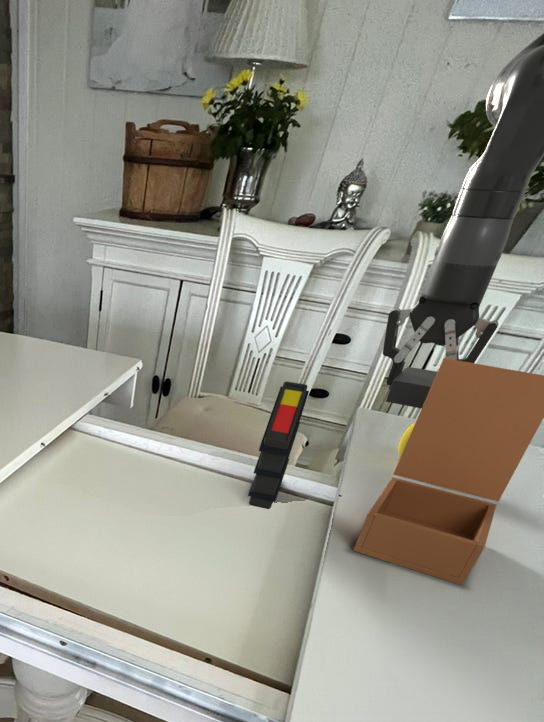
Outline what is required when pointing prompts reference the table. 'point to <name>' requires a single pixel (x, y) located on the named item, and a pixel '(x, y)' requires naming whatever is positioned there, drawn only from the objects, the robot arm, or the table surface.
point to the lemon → (405, 439)
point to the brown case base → (426, 530)
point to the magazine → (277, 444)
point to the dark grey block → (411, 387)
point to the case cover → (473, 428)
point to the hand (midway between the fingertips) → (413, 392)
